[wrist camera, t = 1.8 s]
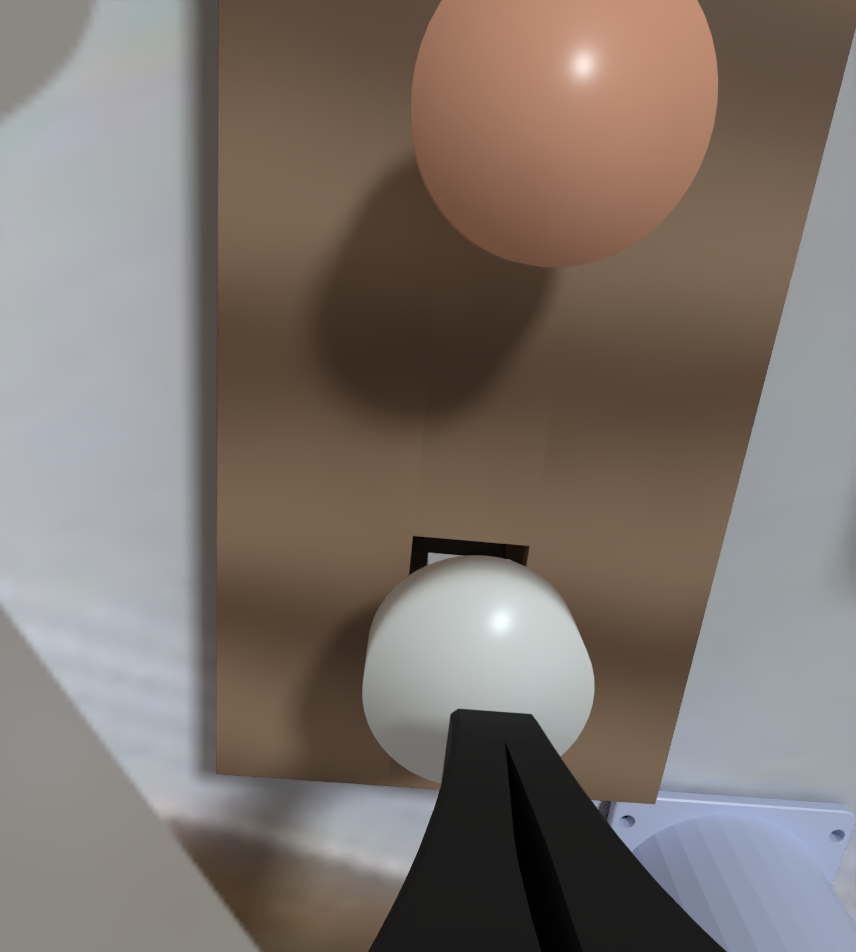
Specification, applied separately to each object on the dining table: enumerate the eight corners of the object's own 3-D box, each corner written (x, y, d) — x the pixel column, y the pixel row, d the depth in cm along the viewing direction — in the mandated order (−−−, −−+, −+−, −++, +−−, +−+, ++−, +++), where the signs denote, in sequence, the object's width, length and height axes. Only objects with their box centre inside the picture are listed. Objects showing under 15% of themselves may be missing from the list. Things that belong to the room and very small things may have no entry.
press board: (624, 731, 22) (655, 804, 19) (243, 703, 21) (216, 773, 18) (818, -111, 15) (912, -194, 12) (258, -185, 14) (219, -290, 12)
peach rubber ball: (612, 271, 14) (681, 281, 11) (402, 249, 14) (398, 252, 10) (654, 30, 13) (751, -56, 9) (424, 2, 13) (427, -98, 9)
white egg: (539, 676, 18) (573, 795, 14) (368, 663, 17) (354, 779, 14) (568, 517, 16) (614, 601, 12) (381, 501, 16) (370, 581, 12)
